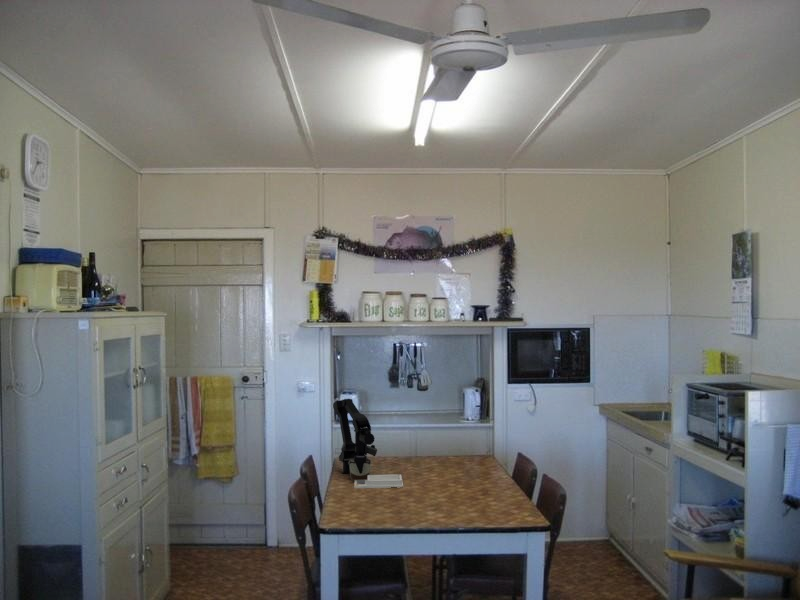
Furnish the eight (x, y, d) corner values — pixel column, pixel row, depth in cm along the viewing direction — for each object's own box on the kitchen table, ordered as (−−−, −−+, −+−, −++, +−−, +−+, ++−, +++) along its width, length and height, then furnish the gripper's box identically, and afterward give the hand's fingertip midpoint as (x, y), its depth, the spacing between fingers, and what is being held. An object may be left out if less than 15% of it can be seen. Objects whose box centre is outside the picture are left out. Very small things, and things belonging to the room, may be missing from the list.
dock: (354, 481, 326) (354, 475, 326) (402, 481, 327) (402, 474, 327) (354, 488, 314) (354, 481, 314) (403, 487, 315) (403, 480, 315)
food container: (373, 477, 335) (373, 458, 335) (371, 480, 328) (371, 460, 329) (350, 477, 336) (350, 457, 336) (348, 480, 330) (347, 460, 330)
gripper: (376, 444, 323) (376, 476, 323) (376, 437, 342) (376, 467, 342) (354, 445, 323) (354, 476, 322) (355, 438, 341) (355, 467, 341)
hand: (360, 471), depth 332 cm, fingers closed on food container, 6 cm apart
